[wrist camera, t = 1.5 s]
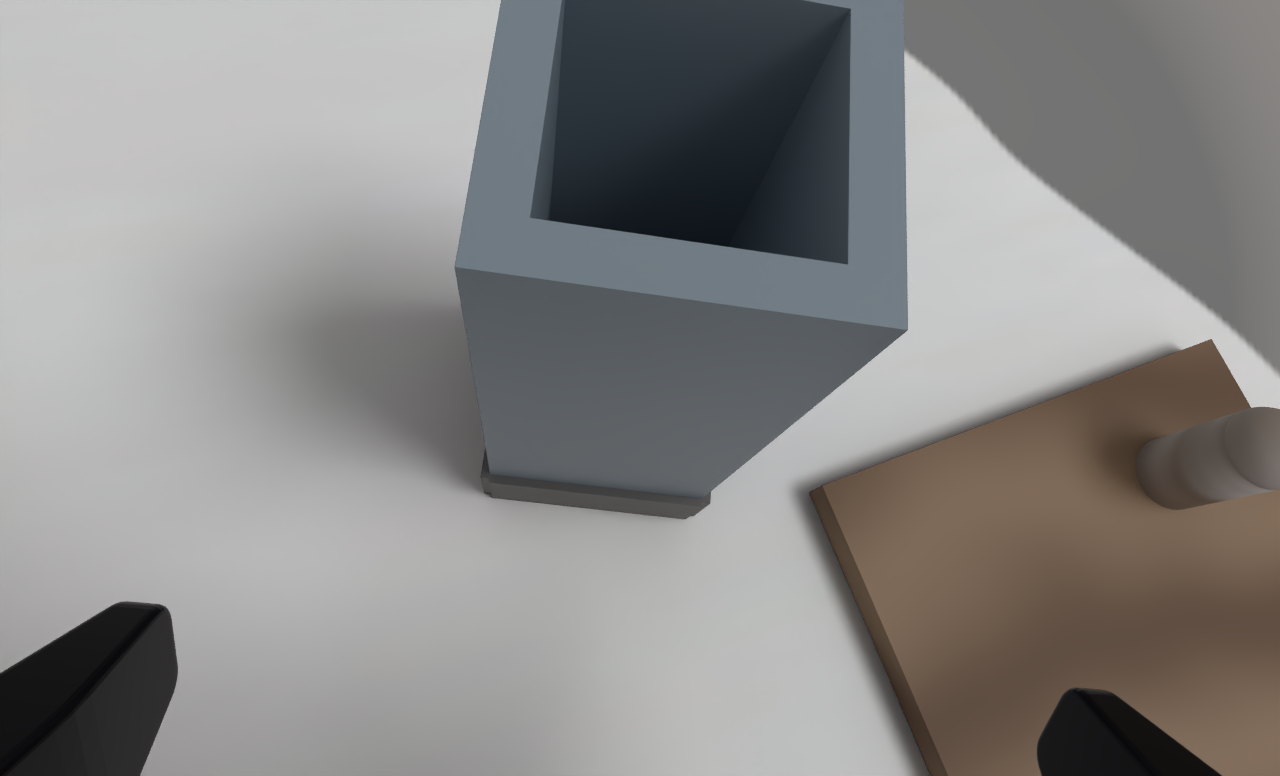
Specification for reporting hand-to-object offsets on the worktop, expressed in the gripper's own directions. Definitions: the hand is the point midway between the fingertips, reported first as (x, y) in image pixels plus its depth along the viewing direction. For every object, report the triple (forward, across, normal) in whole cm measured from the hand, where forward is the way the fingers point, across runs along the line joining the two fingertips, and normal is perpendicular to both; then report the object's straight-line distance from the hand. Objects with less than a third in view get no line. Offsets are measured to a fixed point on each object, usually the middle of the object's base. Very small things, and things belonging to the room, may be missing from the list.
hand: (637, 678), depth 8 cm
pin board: (+10, -15, +8) cm, 19 cm away
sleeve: (+13, 0, +4) cm, 14 cm away
